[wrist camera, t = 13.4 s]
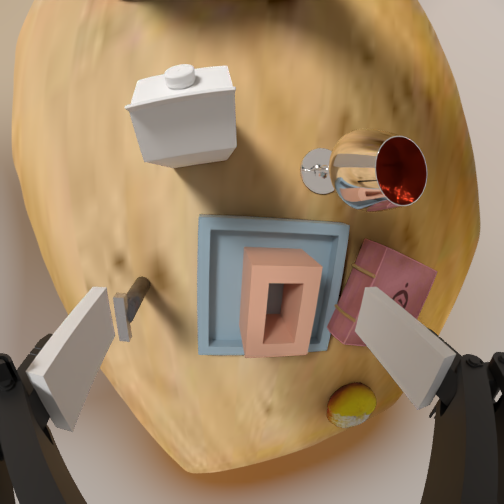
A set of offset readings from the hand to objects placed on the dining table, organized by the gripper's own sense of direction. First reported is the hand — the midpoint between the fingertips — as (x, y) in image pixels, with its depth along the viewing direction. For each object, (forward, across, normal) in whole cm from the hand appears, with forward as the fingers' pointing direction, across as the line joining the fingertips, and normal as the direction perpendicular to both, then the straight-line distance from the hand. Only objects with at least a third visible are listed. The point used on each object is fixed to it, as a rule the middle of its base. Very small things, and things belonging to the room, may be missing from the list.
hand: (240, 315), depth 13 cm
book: (+23, +24, -10) cm, 35 cm away
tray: (+24, +7, -9) cm, 27 cm away
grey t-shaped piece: (+24, -11, -9) cm, 28 cm away
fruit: (+24, +26, -36) cm, 50 cm away
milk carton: (+25, -4, +11) cm, 27 cm away
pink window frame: (+24, +7, -9) cm, 26 cm away
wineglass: (+25, +13, +8) cm, 29 cm away
